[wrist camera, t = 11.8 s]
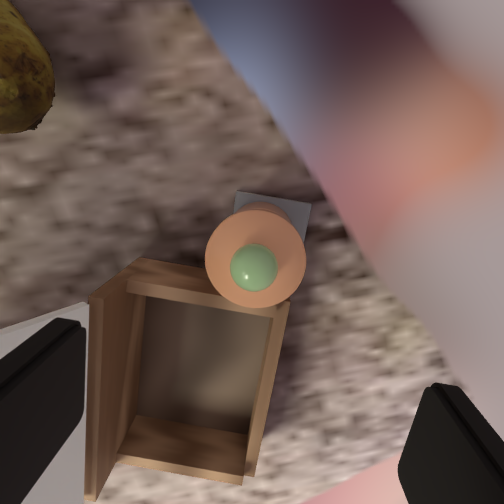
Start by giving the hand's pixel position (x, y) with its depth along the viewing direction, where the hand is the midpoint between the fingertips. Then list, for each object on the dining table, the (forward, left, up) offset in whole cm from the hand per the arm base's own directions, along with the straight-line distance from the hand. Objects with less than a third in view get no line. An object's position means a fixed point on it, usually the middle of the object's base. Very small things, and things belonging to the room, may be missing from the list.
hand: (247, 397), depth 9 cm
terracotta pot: (0, 0, -19) cm, 19 cm away
